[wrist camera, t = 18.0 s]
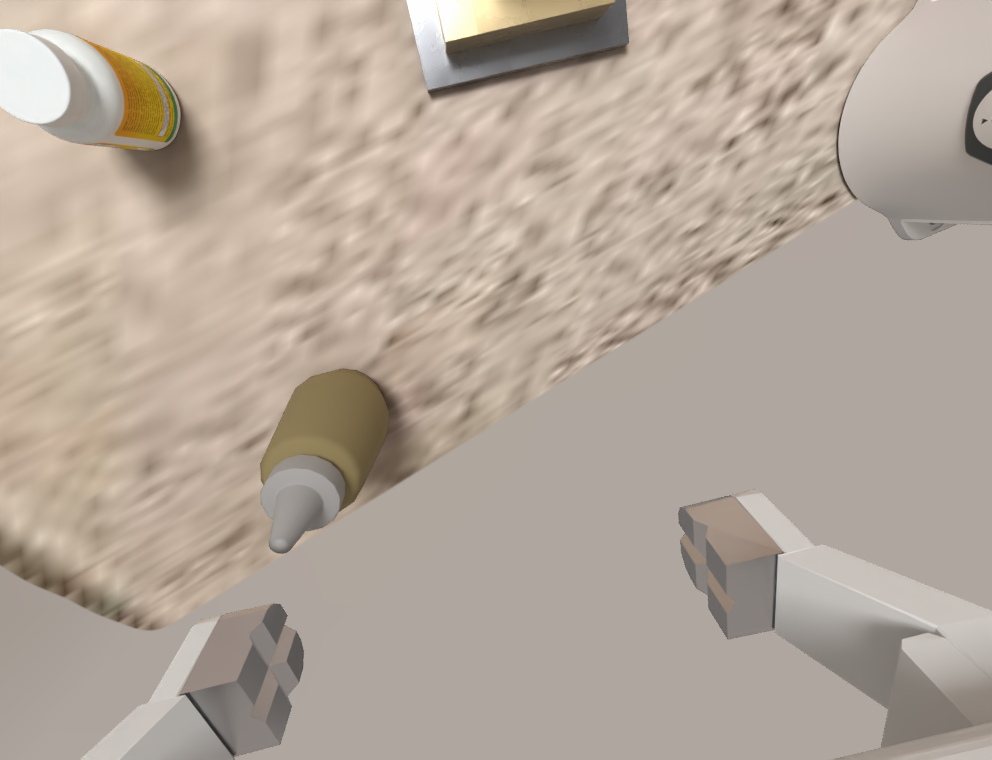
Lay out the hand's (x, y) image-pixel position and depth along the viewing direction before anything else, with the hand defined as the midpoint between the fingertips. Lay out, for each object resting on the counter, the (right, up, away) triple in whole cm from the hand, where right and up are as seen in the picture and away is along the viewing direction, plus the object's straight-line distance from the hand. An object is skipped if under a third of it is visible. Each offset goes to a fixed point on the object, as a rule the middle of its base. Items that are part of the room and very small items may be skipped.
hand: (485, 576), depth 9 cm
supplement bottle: (-24, +22, +22) cm, 40 cm away
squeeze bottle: (-13, +2, +32) cm, 34 cm away
